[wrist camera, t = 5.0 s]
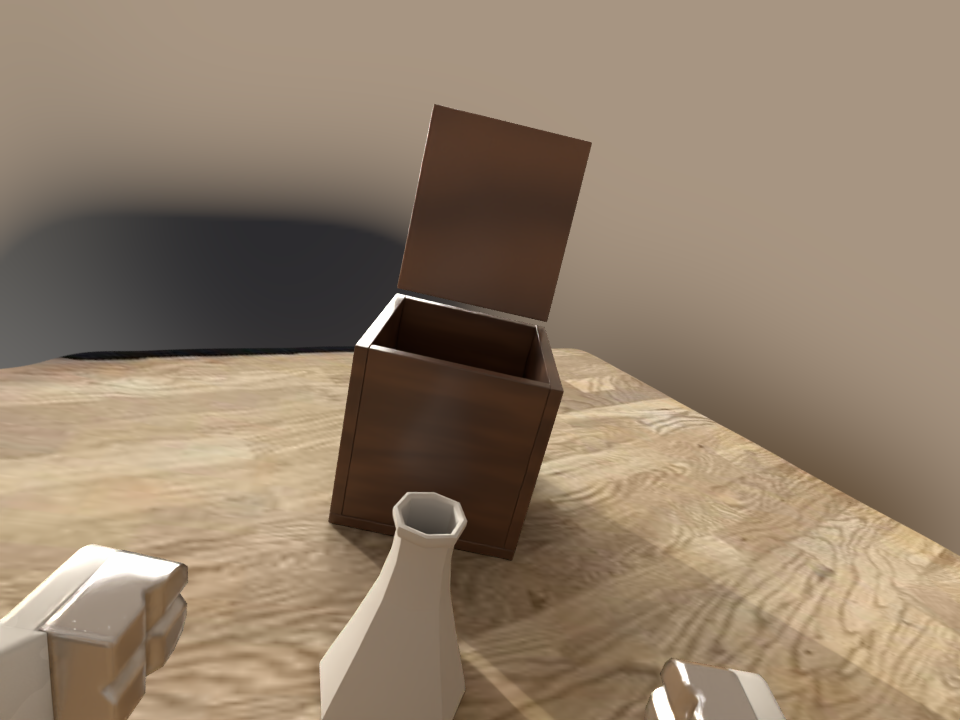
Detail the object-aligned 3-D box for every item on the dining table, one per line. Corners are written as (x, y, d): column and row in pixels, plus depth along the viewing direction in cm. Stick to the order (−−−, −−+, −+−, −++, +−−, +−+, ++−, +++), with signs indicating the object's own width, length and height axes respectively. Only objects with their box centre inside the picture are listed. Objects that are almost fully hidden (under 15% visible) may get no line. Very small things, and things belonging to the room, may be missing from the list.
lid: (592, 142, 41) (589, 144, 42) (433, 103, 41) (434, 106, 42) (547, 322, 44) (545, 321, 45) (397, 287, 43) (398, 287, 44)
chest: (512, 560, 36) (563, 391, 32) (327, 522, 35) (354, 345, 31) (508, 457, 49) (544, 326, 44) (373, 428, 48) (396, 293, 44)
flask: (460, 771, 23) (517, 593, 19) (293, 743, 22) (321, 555, 19) (467, 632, 30) (510, 482, 26) (338, 608, 29) (365, 452, 26)
